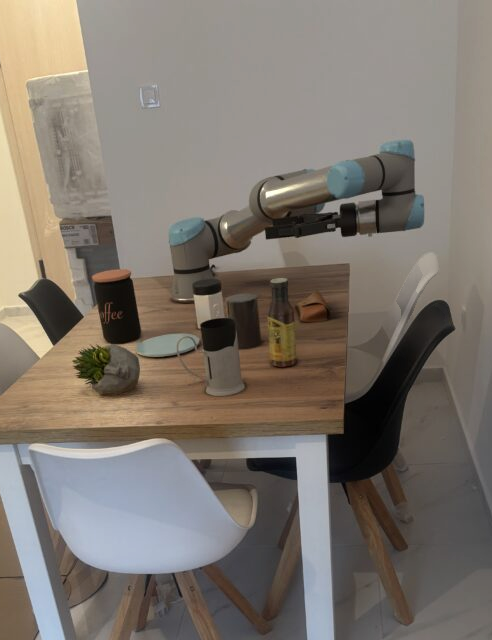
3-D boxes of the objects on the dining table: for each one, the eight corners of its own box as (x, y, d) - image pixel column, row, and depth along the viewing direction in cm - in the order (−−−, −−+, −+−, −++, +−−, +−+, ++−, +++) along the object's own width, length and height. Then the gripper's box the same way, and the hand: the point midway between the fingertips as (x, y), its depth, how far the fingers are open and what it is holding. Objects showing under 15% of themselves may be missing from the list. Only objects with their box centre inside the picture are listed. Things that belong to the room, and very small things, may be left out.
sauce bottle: (266, 363, 184) (258, 279, 175) (289, 357, 186) (283, 274, 176) (278, 370, 179) (271, 284, 169) (302, 364, 181) (296, 279, 171)
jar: (205, 331, 213) (200, 288, 207) (190, 326, 219) (185, 284, 214) (232, 323, 217) (227, 280, 211) (217, 318, 223) (212, 277, 217)
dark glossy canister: (233, 340, 204) (228, 294, 198) (263, 338, 202) (259, 292, 196) (228, 349, 197) (222, 303, 191) (259, 348, 195) (254, 300, 189)
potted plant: (140, 385, 171) (71, 379, 167) (133, 406, 183) (69, 400, 180) (141, 335, 174) (74, 328, 170) (134, 359, 186) (71, 352, 182)
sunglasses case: (293, 304, 225) (303, 283, 222) (314, 314, 227) (324, 293, 224) (300, 321, 209) (311, 299, 206) (323, 332, 211) (334, 309, 208)
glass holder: (250, 389, 170) (243, 323, 163) (190, 404, 167) (180, 337, 159) (236, 378, 177) (229, 314, 170) (178, 392, 174) (168, 327, 167)
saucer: (146, 340, 213) (145, 335, 212) (205, 336, 209) (205, 331, 209) (128, 360, 199) (127, 355, 198) (192, 357, 195) (191, 352, 194)
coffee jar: (96, 341, 217) (83, 277, 208) (125, 331, 223) (113, 267, 214) (121, 346, 210) (108, 280, 201) (149, 335, 216) (139, 270, 208)
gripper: (356, 244, 174) (263, 254, 178) (359, 227, 195) (277, 236, 200) (354, 209, 170) (260, 220, 175) (358, 195, 192) (274, 205, 196)
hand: (269, 228), depth 187 cm, fingers open, 13 cm apart
